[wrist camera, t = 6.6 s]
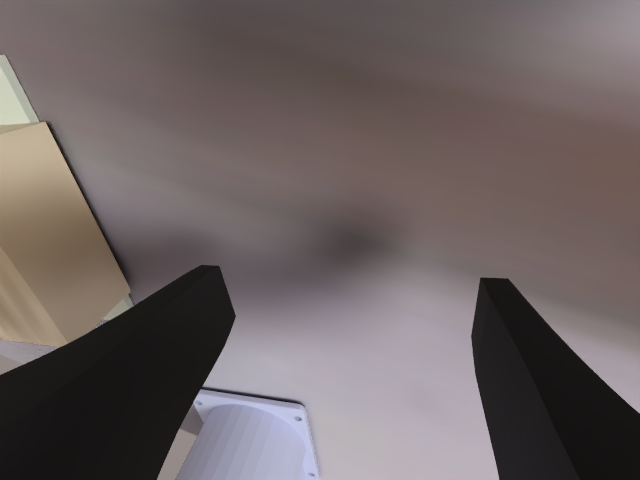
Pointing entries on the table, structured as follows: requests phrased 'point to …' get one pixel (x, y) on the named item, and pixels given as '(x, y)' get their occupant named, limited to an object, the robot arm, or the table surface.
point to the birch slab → (49, 245)
